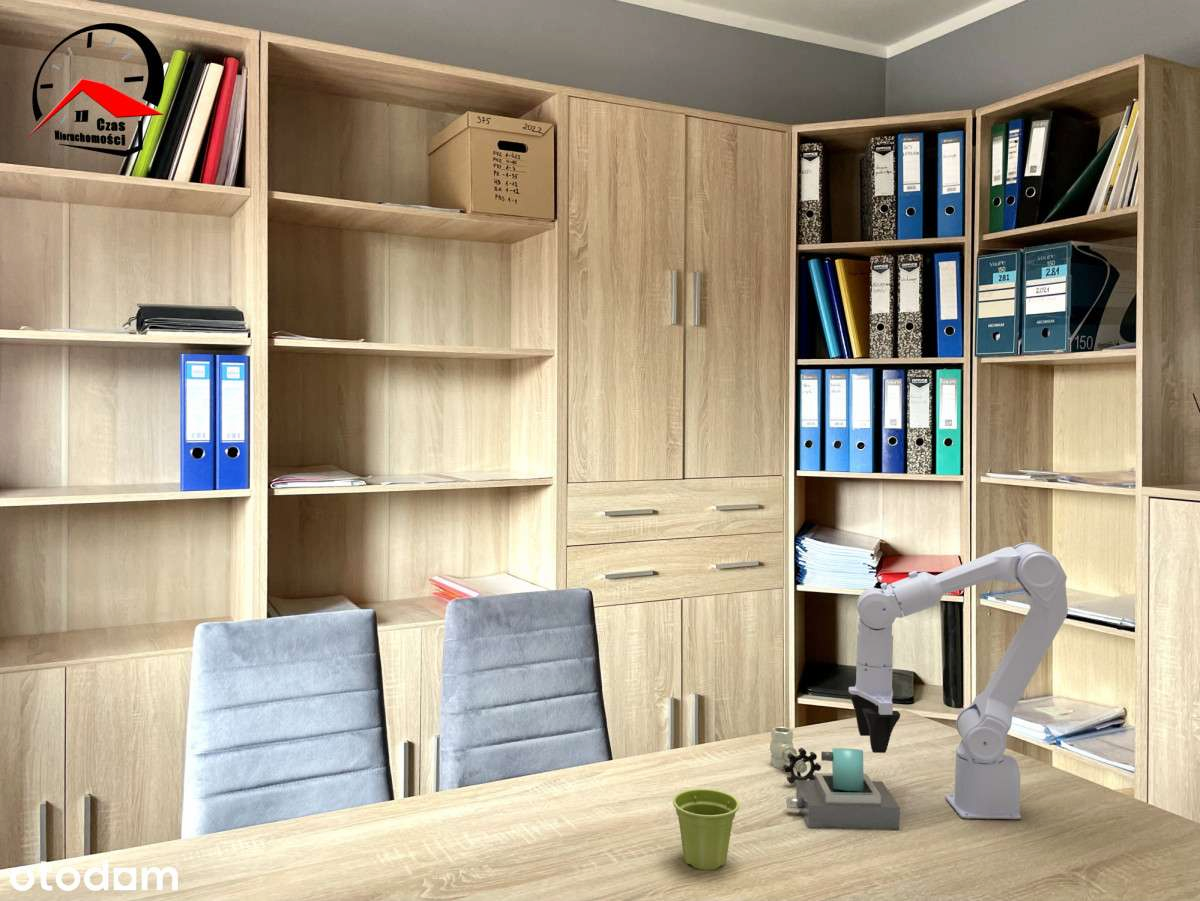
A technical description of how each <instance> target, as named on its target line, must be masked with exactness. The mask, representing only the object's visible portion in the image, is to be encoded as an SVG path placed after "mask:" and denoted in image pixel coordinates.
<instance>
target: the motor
mask: <svg viewBox="0 0 1200 901" xmlns="http://www.w3.org/2000/svg"><path fill="white" fill-rule="evenodd" d="M814 776H815V780H809V779H808V780H796V796H795V797H786V799H785V800H786V808H787V809H799V810H800V813H801V814H802V816H803V817H802V818H803V819H804V822H805V824H806V826H807V828H808V829H841V830H842V829H843V830H845V829H848V830H851V829H852V830H853V829H854V830H860V829H861V830H900V823H901V822H900V821H901V820H900V819H901V818H900V817H901V816H900V814H901V807H900V805H899V803H898V802H897V800H895V797H894V796H893V795H892V793H891V792H890V791H889V789H888V788H887V786H886V785H885V783H884V782H883V781H881V780H880V781H877V780H874V781H872V779H871V778H870V777H869V775H868V773H863V777H864V790H863V791H847V790H838V789H834V788H833V772H832V773H831V772H830V773H829V772H823V773H821V772H820V773H819V772H814Z"/></svg>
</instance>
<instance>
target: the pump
mask: <svg viewBox="0 0 1200 901" xmlns="http://www.w3.org/2000/svg"><path fill="white" fill-rule="evenodd" d="M820 758H821V761H822V762H823V761H825V762H832V765H831V766H832V773H833V788H834V789H838V790H847V791H863V790H864V777H863V774H864V750H862V749H857V748H842V747H840V748H839V747H838V748H837V747H835V748H832V751H821V755H820Z"/></svg>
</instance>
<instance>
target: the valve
mask: <svg viewBox="0 0 1200 901" xmlns="http://www.w3.org/2000/svg"><path fill="white" fill-rule="evenodd" d="M770 734H771V736H770V737H771V741H770V744H769V750H770V753H771V755H770V764H771V766H774V767H773V768H776V769H781V768H782V769H781V770H783V771H784V772H785V773H787V774H788V773H789V774H790V776H787V777H786V781H787V782H788V783H789V784H791V785H792V784H794V783H795V781H797V780H815V771H816V772H819V771H821V769H822V766H821V764H820V763H819V762H815V761H816V760H817V758H818V755H817V754H816V753H815V752H814V751H810V752H809V755H808V754H807V751H806V749H804V748H803V747H800V748H799V749H798V751H797V749H796V748H795V747H794V743H793V740H794V735H793V734H794V732H793V730H792V729H791V728H790V727H787V726H775V727H772V728H771V733H770ZM798 753H799V754H798ZM806 763H810V764H809V765H810V770H809V771H808V773H807V774H805V775H803V776H802V774H804V773H805V772H807V768H808V765H807V764H806ZM794 770H795V771H796V774H795V771H794Z"/></svg>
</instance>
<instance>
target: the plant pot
mask: <svg viewBox="0 0 1200 901" xmlns="http://www.w3.org/2000/svg"><path fill="white" fill-rule="evenodd" d="M672 805H673V806H674V808H675V811H676V815H677V817H678V818H677V819H678V823H679V830H680V832H679V833H680V837H681V838H680V840H681V846H682V847H681V848H682V855H683V856H682V857H683V861H684V862H685V863H686V864H687V865H688V864H689V865H691V866H692V867H693V868H695V869H697V870H703V871H704V870H707V871H708V870H716V869H718V868H720V866H725V865H726V863H727V858H728V852H729V846H730V841H731V840H730V839H731V833H732V826H733V821H734V820H735V816H736V813H737V811H739V808H740V802H739V800H738V798H736V797H735V796H734V795H732V794H729V793H727V792H725V791H720V790H717V789H712V788H711V789H708V788H694V789H687V790H684V791H680V792H678V793H677V794H675V796H674V797H673V799H672Z"/></svg>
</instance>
